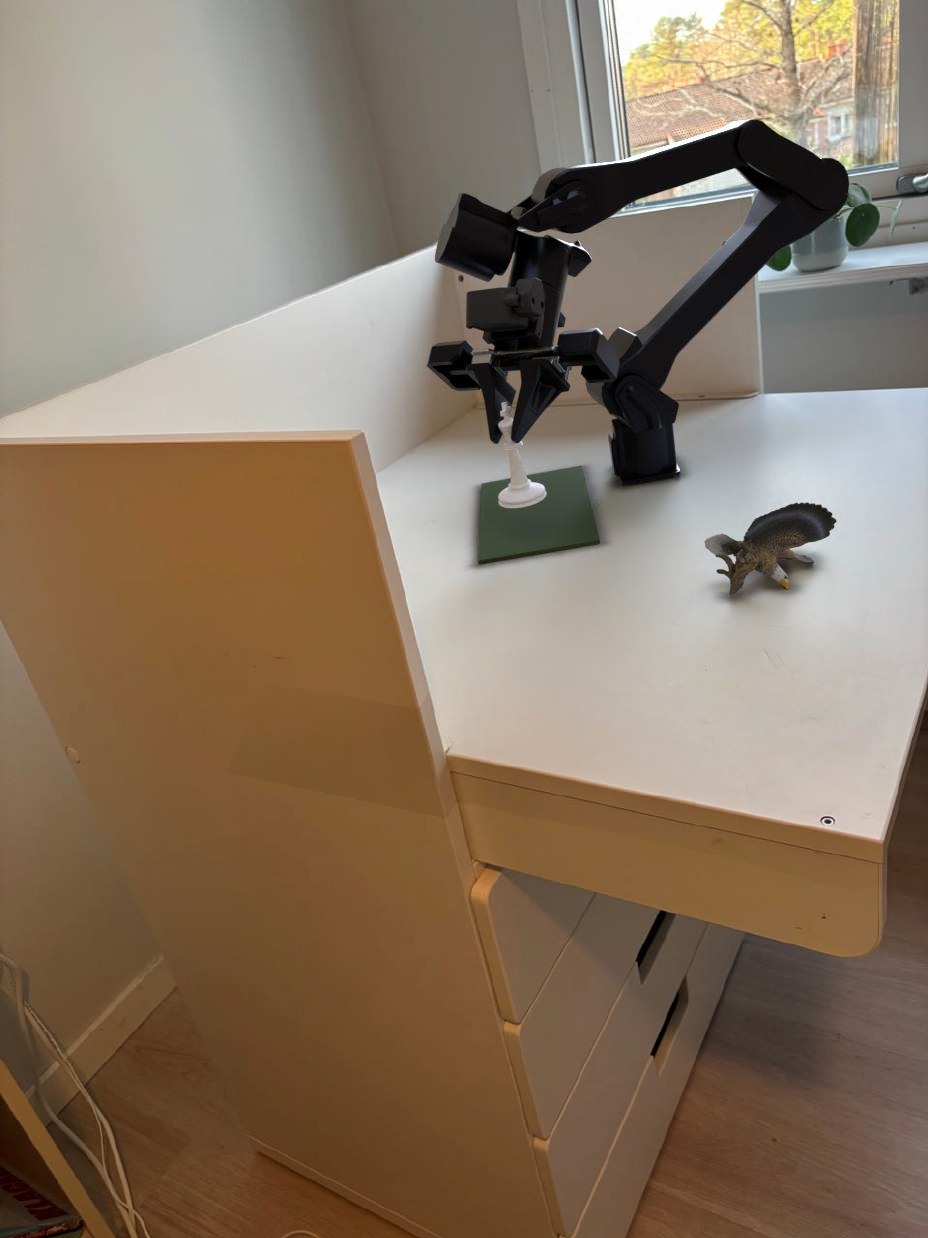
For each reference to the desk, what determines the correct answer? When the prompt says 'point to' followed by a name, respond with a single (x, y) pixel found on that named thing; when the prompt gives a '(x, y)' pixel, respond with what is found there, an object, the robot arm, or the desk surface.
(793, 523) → the eagle figurine
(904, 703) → the desk surface
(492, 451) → the desk surface
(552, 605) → the desk surface
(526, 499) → the chess piece
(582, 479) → the green board
